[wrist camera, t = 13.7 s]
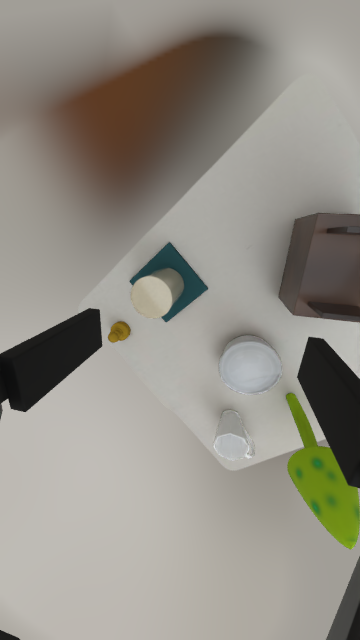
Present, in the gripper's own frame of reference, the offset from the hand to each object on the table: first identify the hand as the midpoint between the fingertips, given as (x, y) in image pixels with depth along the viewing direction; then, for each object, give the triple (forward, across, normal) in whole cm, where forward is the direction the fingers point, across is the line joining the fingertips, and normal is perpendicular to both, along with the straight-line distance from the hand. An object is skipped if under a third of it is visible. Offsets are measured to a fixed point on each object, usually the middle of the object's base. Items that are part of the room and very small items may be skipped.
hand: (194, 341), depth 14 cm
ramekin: (+30, +8, -16) cm, 35 cm away
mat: (+29, -9, -3) cm, 31 cm away
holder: (+30, +16, +3) cm, 34 cm away
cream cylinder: (+29, -9, -3) cm, 30 cm away
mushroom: (+30, +18, -24) cm, 42 cm away
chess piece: (+29, -19, -14) cm, 38 cm away
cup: (+29, +8, -33) cm, 45 cm away
